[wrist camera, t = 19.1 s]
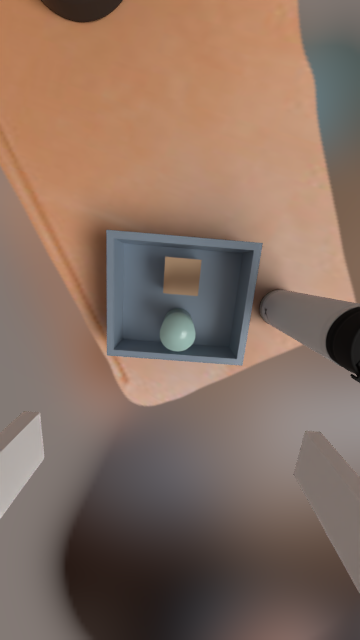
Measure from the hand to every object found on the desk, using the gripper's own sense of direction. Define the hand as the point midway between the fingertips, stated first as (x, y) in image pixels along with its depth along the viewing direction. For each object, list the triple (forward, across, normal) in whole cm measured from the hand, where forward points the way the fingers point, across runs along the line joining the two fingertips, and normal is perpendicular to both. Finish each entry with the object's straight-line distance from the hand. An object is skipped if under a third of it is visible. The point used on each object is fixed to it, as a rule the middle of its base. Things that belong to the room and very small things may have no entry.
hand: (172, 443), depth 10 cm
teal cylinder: (+26, 0, 0) cm, 26 cm away
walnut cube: (+26, 0, +8) cm, 27 cm away
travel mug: (+27, +17, +3) cm, 32 cm away
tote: (+27, 0, +4) cm, 27 cm away
